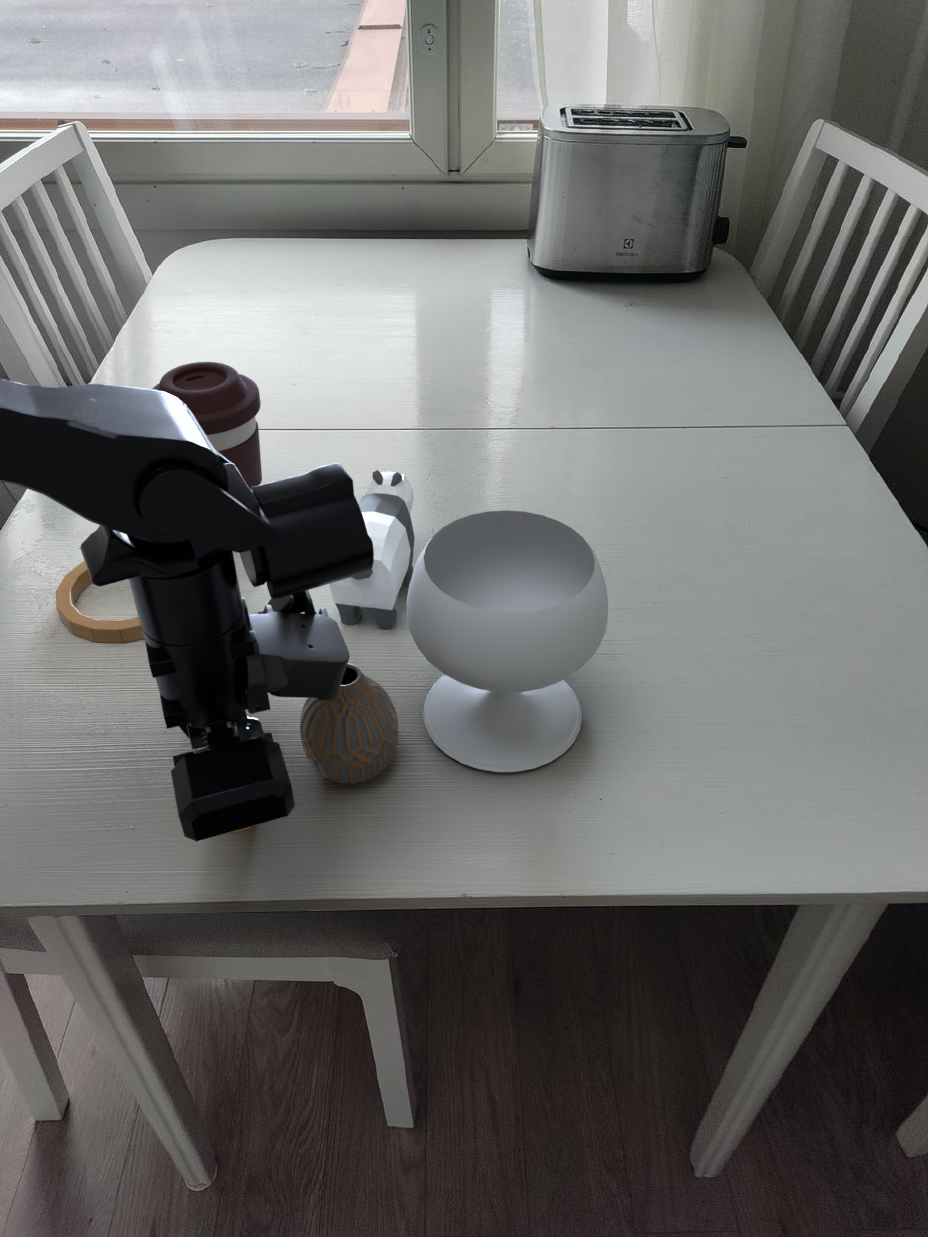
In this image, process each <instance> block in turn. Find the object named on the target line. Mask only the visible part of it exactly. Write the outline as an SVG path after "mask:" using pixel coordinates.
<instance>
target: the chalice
mask: <svg viewBox="0 0 928 1237" xmlns="http://www.w3.org/2000/svg"><path fill="white" fill-rule="evenodd" d="M608 614H609V598H608V590H607V583H606V580H605V577H604V574H603V571H602V568H601V564H600V562H599V559H598V558H597V555H596V553H595V551H594V550H593V548H592V547H591V545H590V544H589V543H588V542H587V541H586V539H585V538H584V537H583V536H582V535H581V534H580V533H579V532H577V531H576V530H574V528H572V527H570V526H569V525H566V524H564V523H563V522H561V521H559V520H557V519H555V518H551V517H548V516H546V515H543V514H538V513H534V512H530V511H529V512H528V511H520V510H507V509H505V510H491V511H483V512H479V513H473V514H471V515H467V516H464V517H461V518H458V519H456V520H453V521H452V522H450V523H448V524H447V525H444V526H443V527H441V529H439V530H438V531H437V532H436V533H435V534H434V535H433V536H432V537H431V538H430V539H429V540H428V542H427V543H426V544H425V546H424V548H423V550H422V551H421V553H420V554H419V556H418V557H417V560H416V562H415V565H414V567H413V574H412V578H411V581H410V584H409V585H408V590H407V596H406V616H407V625H408V626H407V627H408V630H409V633H410V635H411V637H412V640H413V642H414V644H415V645H416V648H417V649H418V650H419V652H420V653H421V654H422V655H423V657H424V658H425V659H426V661H428V663H430V665H432V666H433V667H435V668H436V669H437V670H438V671H440V672H441V673H442V674H443V675H442V676H441V677H439V679H438V680H436V681H435V682H434V683H433V685H432V686H431V688H430V689H429V691H428V692H427V694H426V697H425V699H424V700H425V701H424V703H423V706H422V708H423V712H422V716H423V717H422V719H423V723H424V726H425V729H426V732H427V734H428V735H429V737H430V738H431V740H432V741H433V743H434V744H435V745H436V747H437V748H439V749H440V750H441V751H442V752H443V753H444V754H445V755H447V756H449V757H450V758H452V759H454V760H455V761H457V762H459V763H460V764H463V765H465V766H468V767H471V768H475V769H477V770H482V771H487V772H494V773H495V772H496V773H518V772H523V771H528V770H532V769H536V768H539V767H541V766H542V767H543V766H544V765H547V764H549V763H552V762H553V761H554V760H556V759H558V758H559V757H560V756H562V755H564V754H565V753H566V752H567V751H568V750H569V748H570V747H571V746H572V745H573V744H574V743H575V742H576V739H577V737H578V735H579V733H580V731H581V727H582V720H583V714H582V707H581V703H580V701H579V699H578V697H577V695H576V693H575V691H574V689H572V688H571V686H569V684H568V683H567V681H565V679H567V678H569V677H571V676H572V675H573V674H575V673H576V672H578V671H580V670H581V669H583V667H584V666H586V664H587V663H588V662H590V660H591V659H592V658H593V657H594V655H595V654H596V652H597V651H598V649H599V648H600V646H601V643H602V642H603V639H604V637H605V634H606V632H607V631H606V630H607V625H608V617H609V615H608Z"/></svg>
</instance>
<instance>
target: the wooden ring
mask: <svg viewBox="0 0 928 1237" xmlns="http://www.w3.org/2000/svg"><path fill="white" fill-rule="evenodd" d="M91 583H92V581H91V578H90V575H89V572H88V569H87V566H86V564H85V561H84V560H82V562H80V563H79V564H78V565H77V566H75V567H74V568H73V569H72V570H70V571H69V572H68V573H66V574H65V575H64V577H63V578H62V580H61V582H60V584H59V585H58V587H57V589H56V590H55V604H56V606H55V607H56V610H57V614H58V616H59V619H60V622H61V623H62V624H63V625H64V626H65V627H66V628H67V629H68V630H69V631H70V633H71V634H73V635H75V636H78V637H80V638H83V639H86V640H89V641H91V642H94V643H109V644H110V643H111V644H112V643H115V644H122V643H123V644H124V643H130V642H134V641H139V640H143V639H144V640H145V638H144V634H143V631H142V627H141V623H140V620H139V616H137V617H131V618H127V619H123V620H122V619H121V620H110V619H109V620H108V619H98V618H97V619H96V618H93V617H92V616H91V617H90V616H89V615H85V614H83V613H81V612H80V611H79V610H78V609H77V608H76V607H75V605H76V604H75V603H76V601H77V599H78V598H79V596H80V594H81V592H82V591H83V590H84V589H85V588H86V587H87V586H89V585H90V584H91Z"/></svg>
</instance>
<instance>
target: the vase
mask: <svg viewBox="0 0 928 1237" xmlns="http://www.w3.org/2000/svg"><path fill="white" fill-rule="evenodd" d="M299 736H300V743H301V745H302V749H303V753H304V754H305V756H306V758H307V760H308V761H309V763H310V764H311V766H312V767H313V768H314V769H315V770H316V771H317V772H318V773H319V774H320V775H321V776H323V777H325V778H326V779H328V780H331V781H333V782H336V783H339V784H347V785H349V784H350V785H351V784H360V783H363V782H366V781H369V780H371V779H372V778H375V777H376V776H378V775H379V774H380V773H381V772H382V771H383V770H385V768H386V767H387V766H388V765H389V763H390V762H391V760H392V758H393V756H394V755H395V751H396V749H397V745H398V740H399V717H398V714H397V710H396V707H395V704H394V702H393V700H392V697H390V695H389V694H388V692H387V691H386V689H385V688H384V687H383V686H382V685H381V684H379V683H378V682H377V680H374V679H373V678H371V677H369V676H367V675H365V674H364V672H362V670H361V668H360V667H358V666H357V665H355V664H353V663H348V664H347V667H346V670H345V672H344V675H343V678H342V681H341V684H340V687H339V690H338V693H337V696H336V697H335V698H334V699H331V700H318V699H317V698H305V701H304V704H303V706H302V710H301V713H300V718H299Z"/></svg>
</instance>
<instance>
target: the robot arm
mask: <svg viewBox="0 0 928 1237" xmlns="http://www.w3.org/2000/svg"><path fill="white" fill-rule="evenodd" d="M0 483H6V484H10V485H15V486H18V487H22V488H25V489H27V490H30V491H32V492H35V493H37V494H41V495H43V496H45V497H47V498H49V499H50V500H52V501H53V502H56V503H58V504H59V505H61V506H62V507H64V508H66V509H68V510H69V511H71V512H73V513H75V515H78V516H79V517H81V518H83V519H85V520H87V521H88V522H91V523H93V524H96V525H99V526H98V527H97V528H96V529H95V530H94V531H93V532H92V533H90V534H89V535H88V537H86V539H84V541H83V542H82V543H81V544H80V546H79V547H80V548H79V549H80V552H81V555H82V557H83V558H82V559H83V561H85V564H86V566H87V569H88V572H89V575H90V578H91V581H92V582H91V583H92V584H93V586H96V587H104V586H108V585H111V584H115V583H119V582H123V581H126V580H128V583H129V587H130V591H131V594H132V598H133V602H134V604H135V609H136V612H137V617H139V620H140V623H141V627H142V631H143V634H144V644H145V648H146V654H147V655H146V656H147V662H148V666H149V670H150V673H151V676H152V679H155V682H156V685H157V688H158V692H159V697H160V698H159V699H160V703H161V711H162V715H163V719H164V723H165V726H166V729H167V730H169V729H172V728H176V727H179V729H180V730H181V731H182V732H183V734H184V735H185V736H186V737H187V739H188V740H189V742H190V747H191V751H187V752H184V753H183V752H182V753H179V754H175V755H173V756H172V762H173V768H172V769H171V770H170V775H171V781H172V787H173V791H174V797H175V805H176V808H177V816H178V818H179V822H180V825H181V828H182V832H183V836H184V838H187V839H189V840H192V841H194V842H200V841H203V840H207V839H210V838H214V837H218V836H222V835H225V834H228V833H234V832H233V831H236V830H240V829H244V828H247V827H250V828H252V827H255V826H258V825H261V824H264V823H265V824H266V823H269V822H272V821H276V820H278V819H279V820H280V819H283V818H287V817H289V815H290V814H291V812H293V810H294V809H295V807H296V804H295V797H294V792H293V787H292V786H293V785H292V781H291V778H290V775H289V772H288V768H287V766H286V762H285V759H284V755H283V752H282V749H281V745H280V743H279V742H277V741H275V740H274V737H273V733H272V731H268V732H267V731H266V732H265V731H264V729H263V726H262V722H261V721H260V720H259V719H258V718H256V717H249V716H248V714H250V715H253V714H257V713H261V712H266V711H270V710H271V704H270V699H269V695H271V696H273V697H278V698H302V699H303V698H305V699H307V698H317V699H318V700H331V699H334V698H335V697H336V696H337V693H338V690H339V687H340V684H341V681H342V678H343V675H344V672H345V670H346V667H347V664H349V662H350V661H349V660H350V658H351V654H350V650H349V648H348V646H347V643H346V641H345V639H344V636H343V634H342V631H341V629H340V626H339V624H338V622H337V621H336V620H335V619H333V618H332V617H331V616H329V613H328V611H327V609H326V608H319V610H318V612H316V609H315V606H314V602H313V599H312V597H311V594H310V591H309V590H313V589H316V588H319V587H324V586H326V585H329V584H330V583H333V582H337V581H340V580H343V579H347V578H350V577H354V576H357V575H360V574H364V573H367V572H370V571H371V569H372V567H373V562H374V550H373V542H372V540H371V538H370V537H369V535H368V534H367V529H366V526H365V522H364V518H363V516H362V513H361V510H360V507H359V505H358V504H359V502H358V500H357V498H356V495H355V491H354V480H353V478H352V477H351V476H350V474H349V473H348V472H347V470H345V468H344V466H342V464H340V462H339V463H338V462H334V463H330V464H326V465H321V466H319V467H316V468H314V469H312V470H309V471H308V472H305V473H302V474H299V475H295V476H290V477H286V478H283V479H282V478H281V479H278V480H273V481H270V482H266V483H261V484H260V485H258V486H254V487H251V490H250V488H249V487H248V485H247V484H246V482H245V480H244V479H243V477H242V476H241V474H240V472H239V471H238V469H237V468H236V466H235V465H234V464H233V463H231V462H230V461H229V460H228V459H226V458H225V457H224V456H223V455H221V454H220V453H219V452H217V451H216V450H215V449H214V448H213V446H212V444H211V443H210V441H209V439H208V438H207V436H206V435H205V433H204V431H203V430H202V428H201V426H200V425H199V423H198V421H197V420H196V418H195V417H194V415H193V413H192V412H191V411H190V410H189V408H188V407H187V405H185V404H184V403H183V402H182V401H181V400H179V399H178V398H176V397H174V396H172V395H170V394H168V393H166V392H162V391H157V390H152V388H151V389H150V388H143V387H132V386H126V385H125V386H123V385H115V384H107V383H98V382H97V383H96V382H93V383H85V384H76V385H68V386H59V387H50V386H42V385H33V384H32V385H31V384H24V383H21V382H17V381H13V380H10V379H7V378H6V379H5V378H1V377H0ZM235 553H237V554H238V553H239V558H240V561H241V563H242V566H243V569H244V571H245V574H246V576H247V578H248V581H249V582H250V584H251V585H252V586H253V587H254V588H257V587H260V586H263V585H266V588H267V591H268V594H269V598H270V599H269V600H268V603H267V604H265V605H264V608H263V610H261V611H259V612H257V613H252V614H249V609H248V606H247V602H246V599H245V597H242V593H241V587H240V582H239V578H238V571H237V566H236V561H235V555H234V554H235ZM265 583H266V584H265ZM247 712H248V714H247ZM230 721H231V725H232V726H234V727H230V728H228V726H227V723H228V722H230ZM235 726H237V731H238V732H236V728H235ZM207 727H210V731H211V732H209V733H206V728H207ZM251 826H252V827H251Z"/></svg>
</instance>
